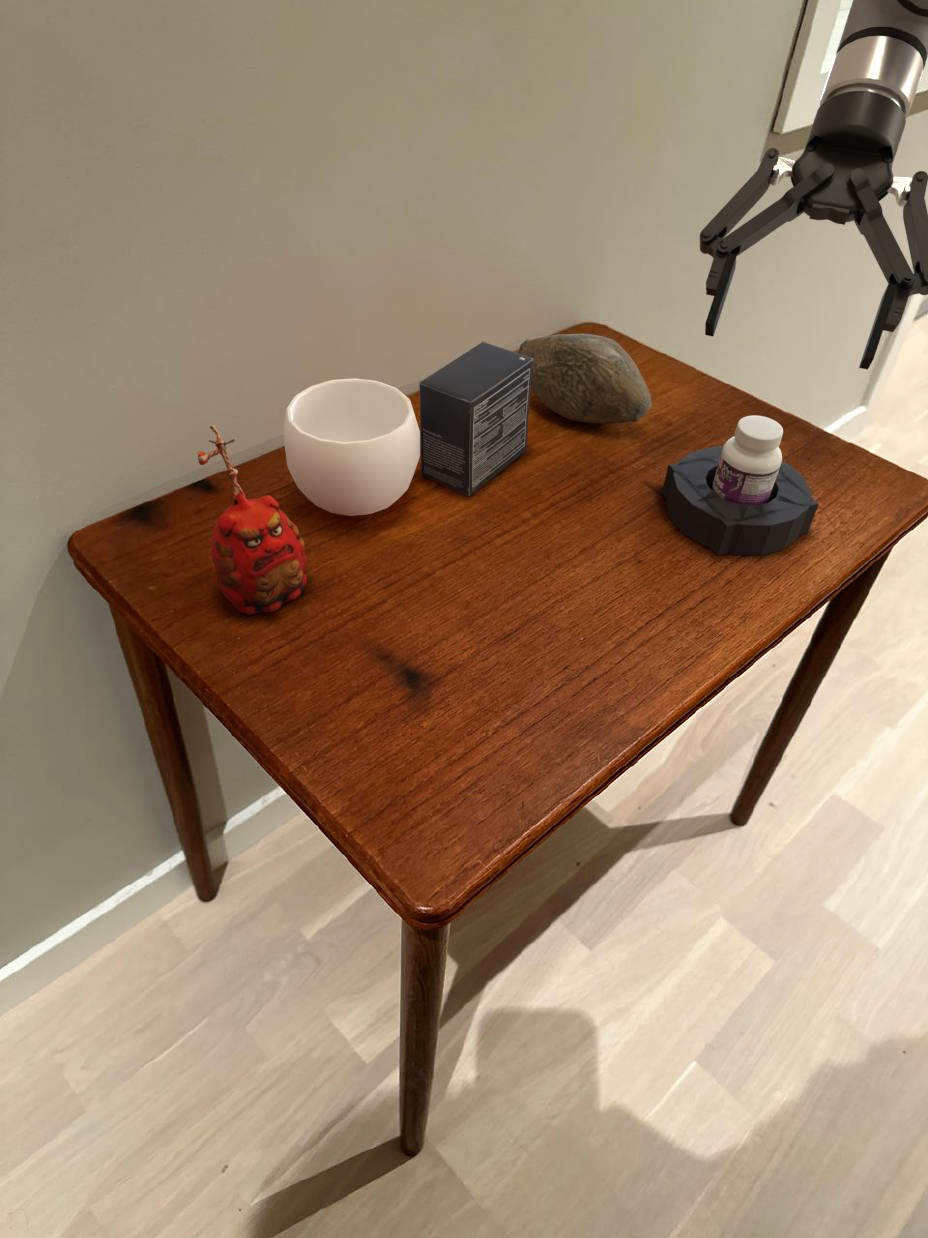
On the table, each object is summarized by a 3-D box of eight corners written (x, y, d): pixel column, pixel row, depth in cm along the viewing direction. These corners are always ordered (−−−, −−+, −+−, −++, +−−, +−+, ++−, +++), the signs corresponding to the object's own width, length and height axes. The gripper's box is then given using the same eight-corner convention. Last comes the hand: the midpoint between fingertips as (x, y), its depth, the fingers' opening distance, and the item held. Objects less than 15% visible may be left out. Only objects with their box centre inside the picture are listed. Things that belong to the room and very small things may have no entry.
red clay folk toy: (253, 632, 70) (223, 478, 60) (201, 591, 73) (164, 438, 63) (325, 587, 74) (309, 436, 64) (273, 550, 77) (249, 400, 67)
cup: (439, 521, 81) (440, 431, 74) (311, 551, 78) (300, 459, 71) (395, 452, 89) (392, 365, 83) (277, 476, 86) (264, 387, 79)
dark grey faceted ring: (827, 538, 81) (839, 508, 79) (713, 567, 78) (722, 537, 75) (749, 466, 89) (758, 437, 87) (643, 489, 86) (649, 459, 83)
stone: (665, 419, 95) (680, 352, 90) (624, 453, 90) (637, 384, 85) (539, 369, 103) (545, 304, 97) (494, 398, 98) (498, 331, 92)
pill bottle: (696, 500, 85) (719, 413, 78) (745, 493, 86) (772, 407, 79) (721, 534, 81) (747, 446, 74) (772, 526, 82) (803, 439, 75)
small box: (477, 429, 93) (482, 337, 86) (528, 451, 90) (537, 357, 83) (416, 474, 87) (415, 378, 79) (469, 498, 84) (473, 402, 77)
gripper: (1001, 161, 76) (925, 392, 77) (719, 119, 83) (650, 332, 83) (1033, 107, 69) (948, 362, 69) (721, 66, 76) (645, 300, 76)
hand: (785, 346), depth 76 cm, fingers open, 13 cm apart
